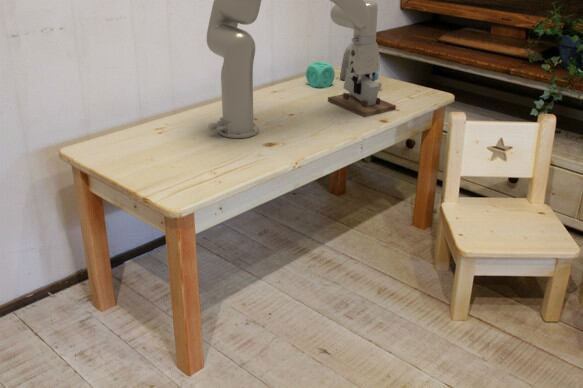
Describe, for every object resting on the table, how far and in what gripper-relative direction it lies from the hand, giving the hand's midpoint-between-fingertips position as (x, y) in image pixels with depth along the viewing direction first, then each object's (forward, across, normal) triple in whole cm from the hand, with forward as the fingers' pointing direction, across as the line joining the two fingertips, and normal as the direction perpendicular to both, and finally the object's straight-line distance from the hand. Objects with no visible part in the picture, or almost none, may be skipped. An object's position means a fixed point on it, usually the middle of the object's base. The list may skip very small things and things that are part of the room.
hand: (361, 91), depth 220 cm
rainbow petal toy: (+5, +15, +14) cm, 21 cm away
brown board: (+5, 0, 0) cm, 5 cm away
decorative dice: (+5, +3, +27) cm, 28 cm away
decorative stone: (+5, +19, +28) cm, 34 cm away
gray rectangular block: (+2, 0, +1) cm, 2 cm away
